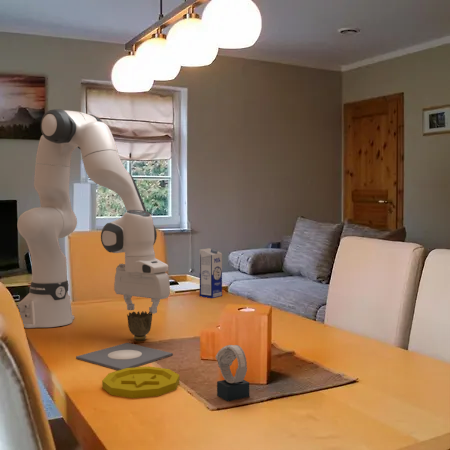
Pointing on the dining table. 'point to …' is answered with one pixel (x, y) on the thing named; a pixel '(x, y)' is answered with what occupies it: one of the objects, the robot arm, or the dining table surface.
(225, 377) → the watch
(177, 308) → the dining table surface
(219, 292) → the milk carton
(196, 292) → the dining table surface
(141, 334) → the cup
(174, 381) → the decorative disc
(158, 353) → the charcoal mat
